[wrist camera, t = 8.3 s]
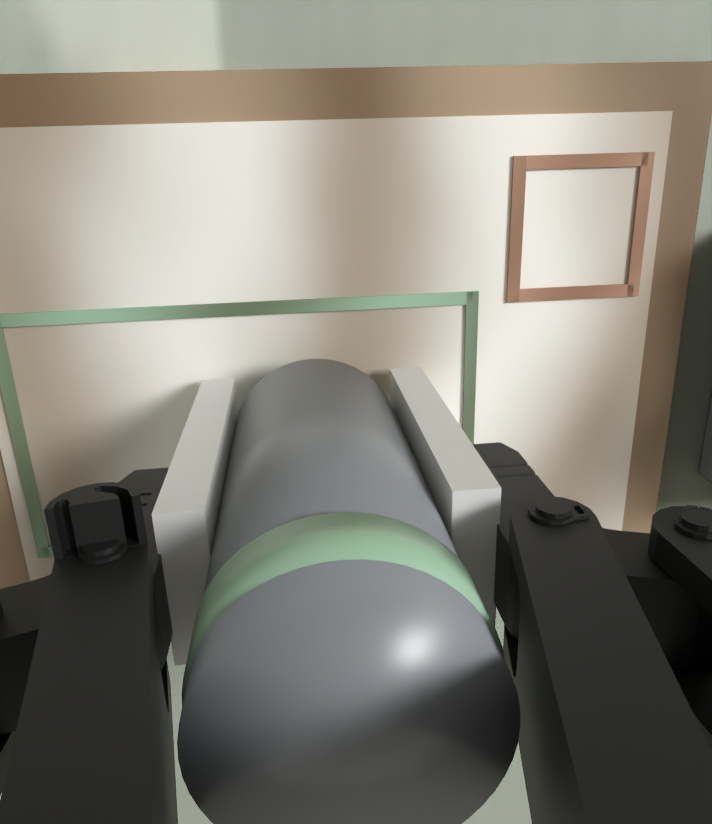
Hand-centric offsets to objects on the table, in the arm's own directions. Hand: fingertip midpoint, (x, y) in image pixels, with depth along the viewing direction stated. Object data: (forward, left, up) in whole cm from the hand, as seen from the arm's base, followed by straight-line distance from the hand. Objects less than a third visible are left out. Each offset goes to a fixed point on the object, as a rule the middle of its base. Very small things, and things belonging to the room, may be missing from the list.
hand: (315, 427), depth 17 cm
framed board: (0, +1, -1) cm, 1 cm away
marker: (0, 0, 0) cm, 0 cm away
